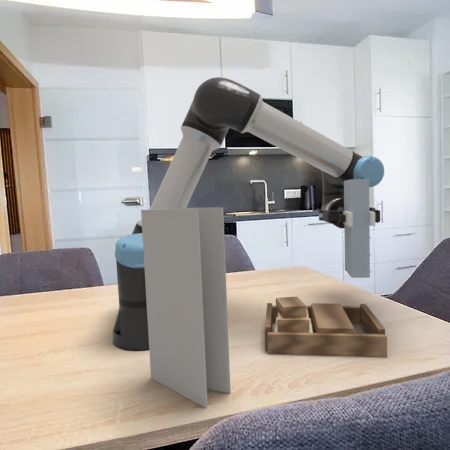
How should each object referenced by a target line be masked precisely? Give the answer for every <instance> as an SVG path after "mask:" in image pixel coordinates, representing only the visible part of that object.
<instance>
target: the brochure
mask: <svg viewBox="0 0 450 450" xmlns="http://www.w3.org/2000/svg"><path fill="white" fill-rule="evenodd" d="M140 217H141V218H140V219H141V220H142V235H143V252H144V268H145V285H146V302H147V319H148V335H149V349H148V350H149V366H150V379H152V380H154V381H155V382H156V383H159V384H161V385H163V386H164V387H166V388H169V389H170V390H172V391H174V392H175V393H178V394H179V395H180V396H183V397H185V398H187V399H189V400H190V401H192V402H194V403H195V404H197V405H200V407H202V408H204V409H207V408H208V390H210V391H214V392H220V393H225V394H231V393H232V392H231V369H230V342H229V321H228V319H229V317H228V316H229V315H228V294H227V293H228V292H227V270H226V246H225V244H226V243H225V220H224V207H186V208H166V209H152V210H149V209H141V210H140Z"/></svg>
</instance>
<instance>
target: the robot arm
mask: <svg viewBox="0 0 450 450" xmlns="http://www.w3.org/2000/svg"><path fill="white" fill-rule="evenodd" d="M230 129H232V130H234V131H237V132H238V133H241V134H245V133H250V134H252V135H253V136H255V137H257V138H259V139H261V140H263V141H265V142H267V143H268V144H270V145H273V146H275V147H277V148H279V149H280V150H282V151H284V152H285V153H287V154H289V155H291V156H294V157H295V158H297V159H299V160H301V161H303V162H305V163H306V164H309V165H311V166H313V167H314V168H316V169H319V170H320V171H321V177H322V179H321V181H322V206H321V209H319V210H318V221H321V222H322V221H323V222H326V223H328V224H332V226H335V227H337V229H338V228H339V229H344V224H345V225H347V226H349V227H352V226H353V213H351V212H348V211H344V181H346V180H351V179H369V188H373V187H377V186H378V185H379V184H381V182H382V180H383V179H384V176H385V167H384V164H383V162H382V161H381V160H380V159H379V158H378V157H376V156H373V155H372V156H371V155H364V156H363V155H360V154H359V153H357V152H355V151H353V150H351V149H349V148H347V147H346V146H344V145H342V144H340V143H339V142H336V141H334V140H333V139H331V138H329V137H327V136H325V135H324V134H322V133H320V132H319V131H317V130H315V129H313V128H311V127H309V126H307V125H306V124H304V123H303V122H301V121H298V120H297V119H295V118H293V117H291V116H290V115H289V114H287V113H284V112H283V111H280V110H279V109H277V108H276V107H274V106H271V105H270V104H268V103H267V102H264V100H263V97H262V95H261V94H260V93H258V92H256V91H254V90H252V89H251V88H249V87H247V86H245V85H243V84H242V83H239V82H236V81H234V80H232V79H230V78H227V77H222V76H221V77H220V76H219V77H211V78H209V79H208V78H207V79H206V80H205V81H203V82H202V83H201V84H199V86H198V88H197V89H196V91H195V93H194V96H193V99H192V101H191V103H190V106H189V109H188V111H187V113H186V116H185V118H184V119H183V122H182V124H181V126H180V131H181V133H182V139H181V140H180V141H179V144H178V146H177V149H176V151H175V153H174V155H173V158H172V159H171V162H170V164H169V167H168V168H167V171H166V173H165V175H164V177H163V179H162V182H161V183H160V185H159V188H158V190H157V192H156V195H155V196H154V199H153V201H152V204H151V205H150V207H149V209H148V210H152V209H166V208H188V205H189V203H190V200H191V198H192V197H193V193H194V191H195V190H196V187H197V186H198V183H199V181H200V178H201V177H202V175H203V173H204V170H205V168H206V165H207V163H208V162H209V160H210V158H211V155H212V152H213V151H215V150H218V149H220V148H221V146H222V145H223V142H224V141H225V138H226V135H228V132H229V130H230ZM380 222H381V210H380V209H379V210H378V209H376V208H374V207H369V227H370V226H371V227H376V223H377V224H378V223H380ZM114 257H115V260H116V261H115V262H116V277H117V291H118V293H117V294H118V311H117V314H116V317H115V322H114V326H113V330H112V339H113V340H112V341H113V343H114V345H115V346H116V347H117V348H121V349H124V350H131V351H139V350H140V351H142V350H143V351H144V350H149V335H148V319H147V302H146V285H145V268H144V252H143V235H142V219H141V220H138V221H137V222H136V224H135V226H134V228H133V230H132V233H130V234H128V235H125V236H122V237H120V238H118V240H116V242H115V251H114Z"/></svg>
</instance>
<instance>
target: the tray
mask: <svg viewBox="0 0 450 450" xmlns="http://www.w3.org/2000/svg"><path fill="white" fill-rule="evenodd" d="M306 307H307V310H308V316H309V318H311V324H312V331H313V333H294V332H274V331H273V326H274V325H273V324H275V322H276V317H278V310H277V309H276V305H273V303H272V302H267V304H266V314H265V319H264V321H265V322H264V345H265V346H264V347H265V348H264V349H265V352H267V354H270V355H299V356H302V355H303V356H334V357H335V356H337V357H338V356H340V357H342V356H343V357H373V358H376V357H377V358H388V336H387V335H386V329H385V327H384V325H382V323H381V322H380V321H379V319H378V318H377V316H376V315H375V314H374V313H373V312H372V310H371V309H370V308H369V306H367V304H366V303H359V305H358V306H357V305H352V306H351V305H350V306H349V305H342V304H341V303H318V302H317V303H312V302H311V303H310V305H306ZM354 325H360V326H361V328H362V330H363V331H364V333H355V327H354Z"/></svg>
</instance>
